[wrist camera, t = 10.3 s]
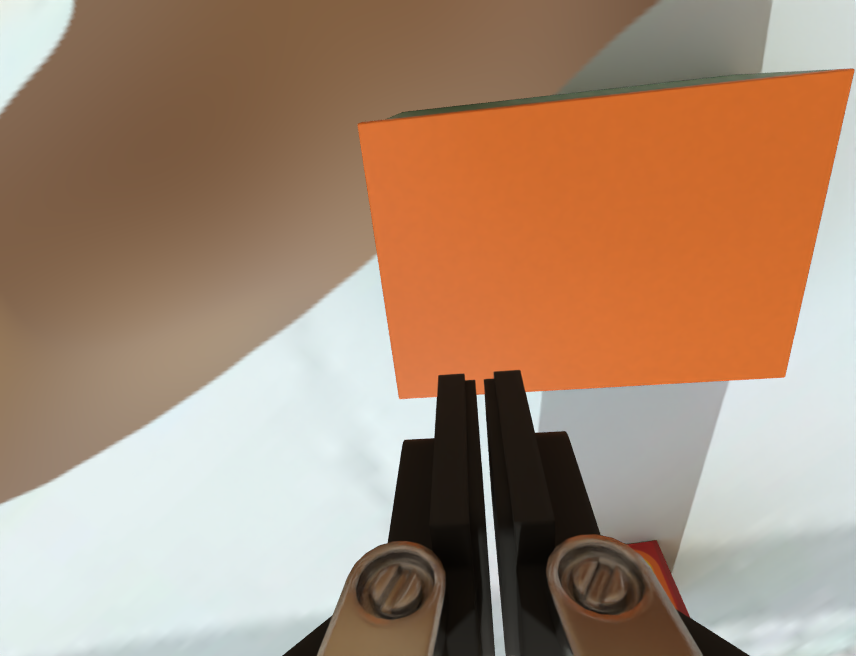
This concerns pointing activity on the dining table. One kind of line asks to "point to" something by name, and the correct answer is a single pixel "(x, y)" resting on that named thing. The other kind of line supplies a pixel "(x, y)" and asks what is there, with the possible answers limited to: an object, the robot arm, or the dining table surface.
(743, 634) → the dining table surface
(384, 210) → the lid
